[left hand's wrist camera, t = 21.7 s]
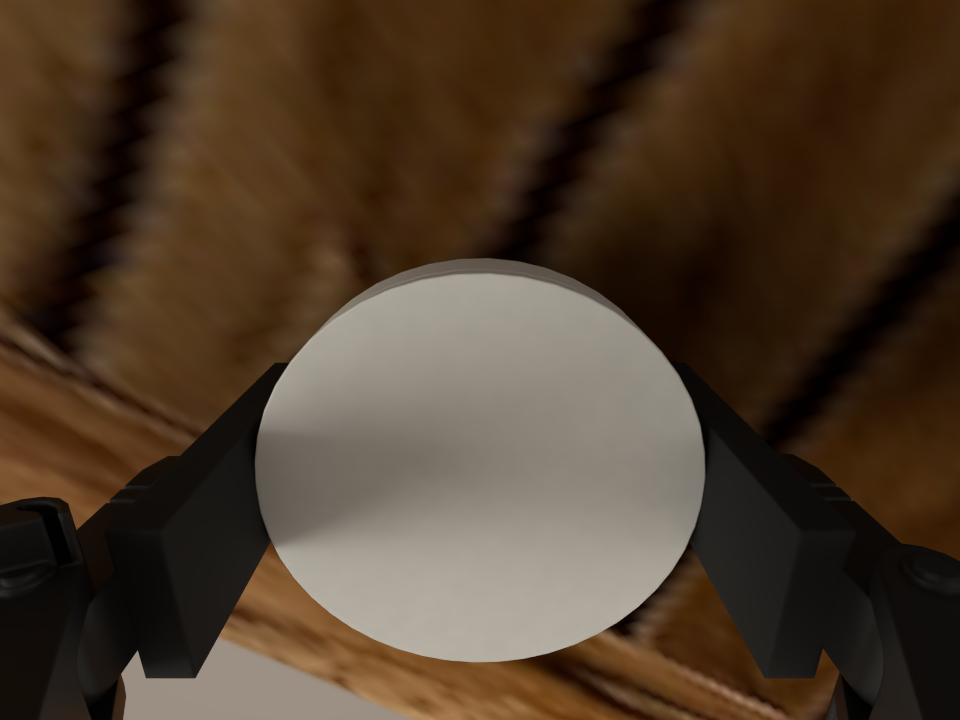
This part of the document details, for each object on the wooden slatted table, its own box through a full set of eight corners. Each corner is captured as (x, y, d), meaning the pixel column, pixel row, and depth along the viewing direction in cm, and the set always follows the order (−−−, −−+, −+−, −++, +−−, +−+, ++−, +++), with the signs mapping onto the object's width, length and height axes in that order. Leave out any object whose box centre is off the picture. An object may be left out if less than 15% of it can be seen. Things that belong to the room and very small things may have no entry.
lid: (695, 573, 13) (722, 626, 12) (351, 635, 14) (336, 691, 12) (654, 211, 10) (682, 219, 9) (219, 311, 11) (179, 335, 9)
